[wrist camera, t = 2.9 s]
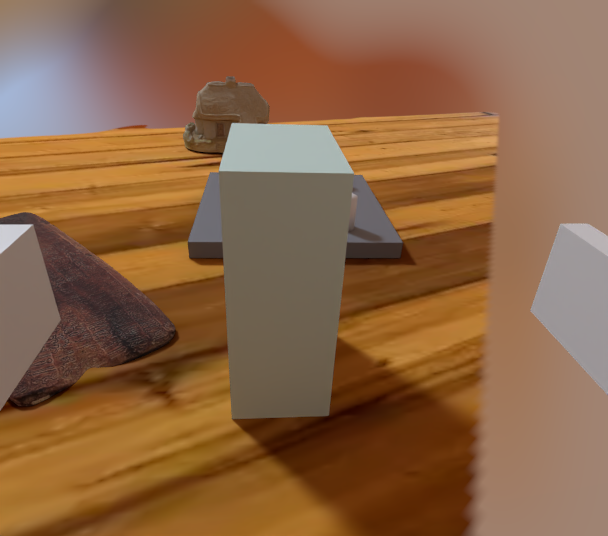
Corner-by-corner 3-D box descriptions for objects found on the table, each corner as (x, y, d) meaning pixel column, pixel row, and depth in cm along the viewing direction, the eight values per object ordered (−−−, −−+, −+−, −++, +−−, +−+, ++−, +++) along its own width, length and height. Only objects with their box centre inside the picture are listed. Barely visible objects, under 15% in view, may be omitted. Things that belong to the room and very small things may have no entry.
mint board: (231, 419, 23) (218, 170, 16) (238, 323, 29) (231, 122, 23) (328, 416, 23) (354, 173, 17) (313, 322, 30) (327, 125, 23)
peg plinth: (189, 258, 37) (184, 207, 34) (211, 184, 52) (208, 146, 50) (400, 258, 38) (408, 209, 36) (360, 187, 54) (364, 150, 52)
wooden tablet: (-86, 227, 37) (38, 189, 43) (-72, 249, 39) (47, 209, 44) (2, 410, 21) (181, 312, 27) (21, 437, 23) (188, 338, 28)
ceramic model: (274, 138, 73) (275, 73, 68) (281, 158, 64) (282, 83, 59) (187, 138, 71) (181, 70, 66) (180, 157, 62) (173, 80, 57)
